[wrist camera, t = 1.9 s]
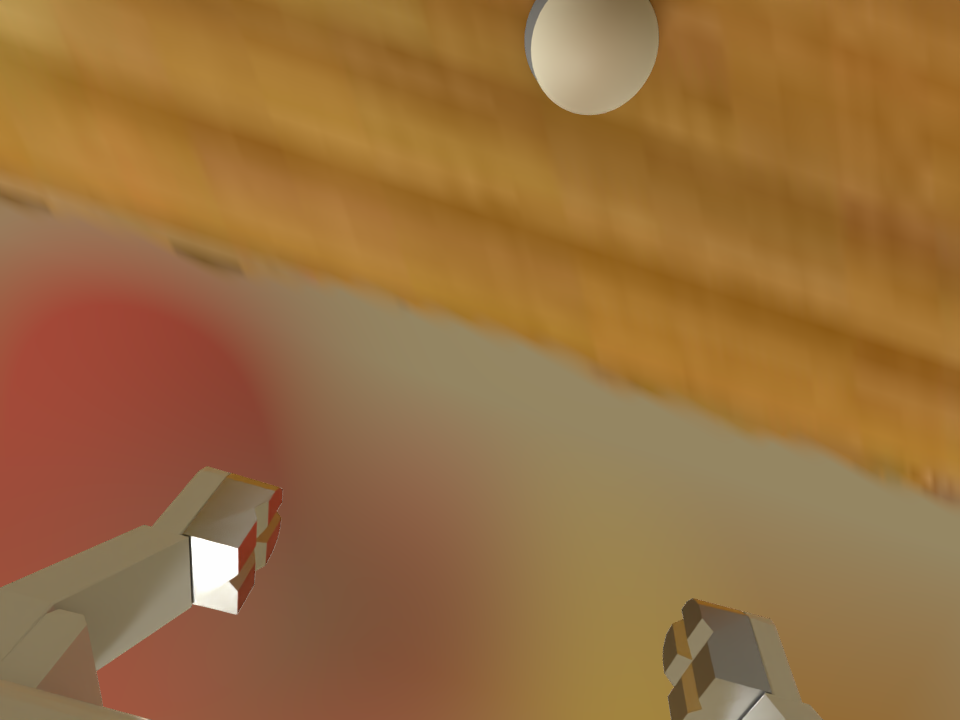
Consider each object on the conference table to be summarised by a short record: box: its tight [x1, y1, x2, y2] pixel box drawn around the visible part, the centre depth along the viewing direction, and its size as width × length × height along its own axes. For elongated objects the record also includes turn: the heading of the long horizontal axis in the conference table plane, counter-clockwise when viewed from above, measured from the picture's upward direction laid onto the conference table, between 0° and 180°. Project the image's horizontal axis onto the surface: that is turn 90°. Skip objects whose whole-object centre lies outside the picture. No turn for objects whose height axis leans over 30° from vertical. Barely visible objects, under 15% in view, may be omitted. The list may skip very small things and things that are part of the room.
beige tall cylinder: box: [525, 0, 659, 115], centre depth 25 cm, size 6×6×14 cm
